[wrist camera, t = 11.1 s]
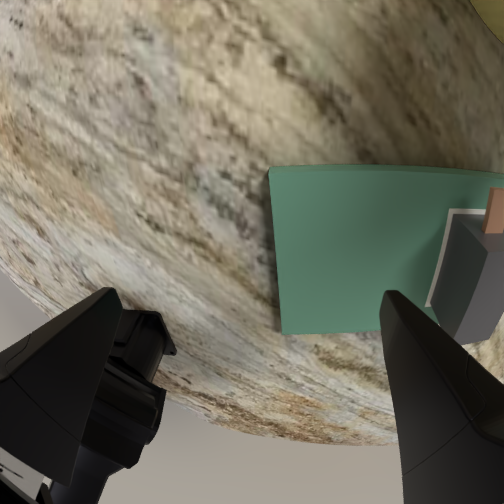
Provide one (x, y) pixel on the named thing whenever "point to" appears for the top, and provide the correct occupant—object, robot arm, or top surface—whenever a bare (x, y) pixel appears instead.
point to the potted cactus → (491, 15)
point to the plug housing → (472, 274)
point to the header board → (364, 238)
